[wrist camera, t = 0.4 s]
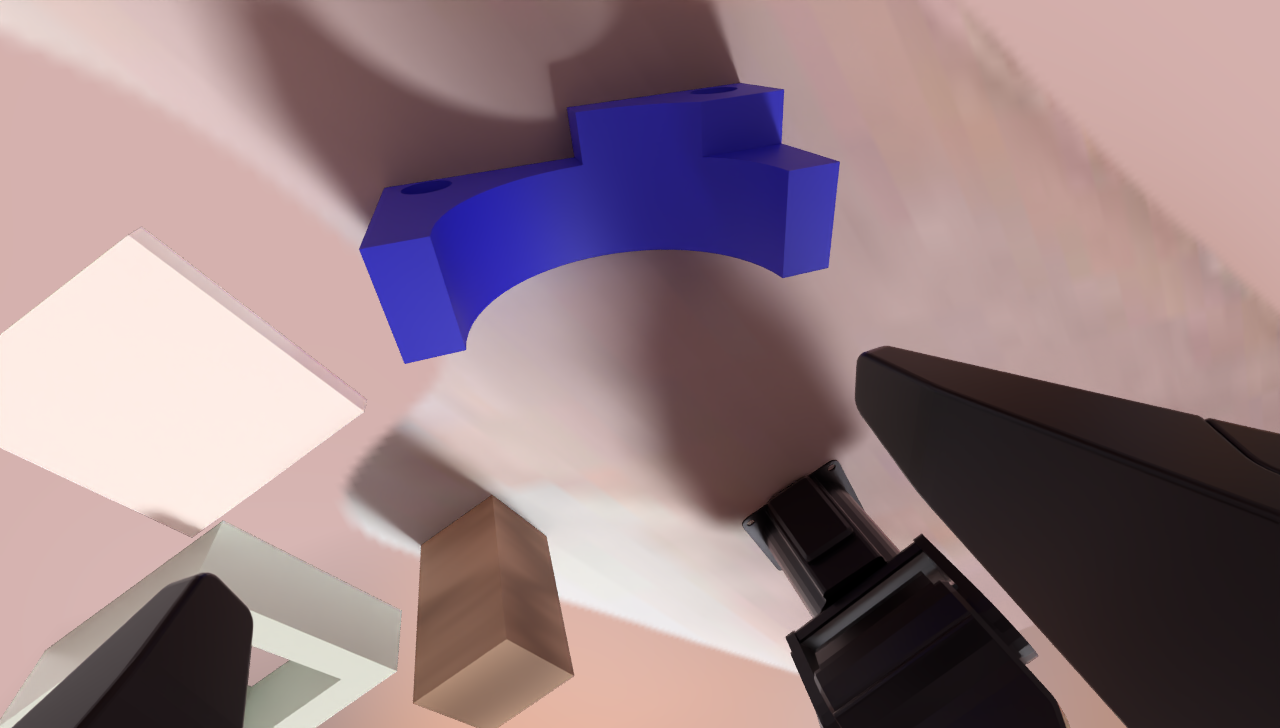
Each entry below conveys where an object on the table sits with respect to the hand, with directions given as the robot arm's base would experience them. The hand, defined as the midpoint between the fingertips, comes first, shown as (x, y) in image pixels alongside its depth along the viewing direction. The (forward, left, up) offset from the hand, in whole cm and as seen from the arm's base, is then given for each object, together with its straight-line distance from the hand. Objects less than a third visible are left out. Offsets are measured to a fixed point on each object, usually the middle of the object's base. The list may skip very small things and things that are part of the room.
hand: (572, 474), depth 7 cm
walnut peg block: (-11, +10, -13) cm, 20 cm away
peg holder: (-7, +20, -13) cm, 25 cm away
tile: (+2, +12, -13) cm, 18 cm away
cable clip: (-1, -3, -13) cm, 14 cm away
